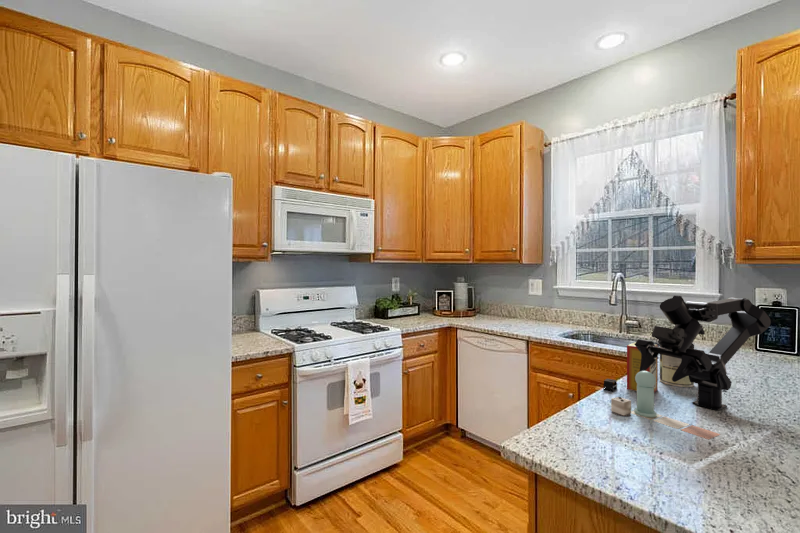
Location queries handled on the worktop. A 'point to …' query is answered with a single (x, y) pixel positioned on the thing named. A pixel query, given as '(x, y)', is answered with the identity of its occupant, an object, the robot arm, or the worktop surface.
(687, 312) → the robot arm
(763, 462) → the worktop surface
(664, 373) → the coffee can
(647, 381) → the pawn
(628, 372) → the baking soda box
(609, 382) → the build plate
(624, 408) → the game board
